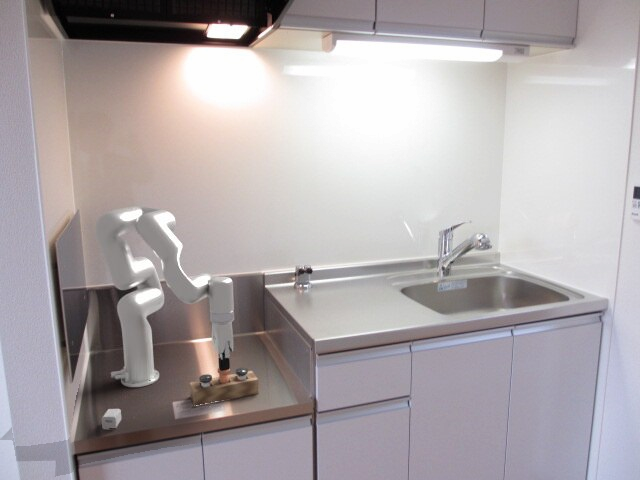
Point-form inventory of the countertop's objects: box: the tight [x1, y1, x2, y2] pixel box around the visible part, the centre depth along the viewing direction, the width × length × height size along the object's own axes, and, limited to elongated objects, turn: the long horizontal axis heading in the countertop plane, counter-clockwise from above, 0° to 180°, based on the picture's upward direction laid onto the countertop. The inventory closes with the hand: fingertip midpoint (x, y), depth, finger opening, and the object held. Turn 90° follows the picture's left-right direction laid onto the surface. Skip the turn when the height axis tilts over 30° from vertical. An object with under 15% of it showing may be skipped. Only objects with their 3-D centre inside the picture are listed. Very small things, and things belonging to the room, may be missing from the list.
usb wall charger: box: [101, 408, 122, 430], centre depth 152 cm, size 4×7×4 cm, turn 2°
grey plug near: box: [198, 374, 213, 388], centre depth 165 cm, size 4×4×7 cm
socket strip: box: [189, 370, 259, 407], centre depth 168 cm, size 21×7×5 cm, turn 115°
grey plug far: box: [235, 367, 249, 381], centre depth 170 cm, size 4×4×7 cm
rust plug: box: [217, 367, 231, 384], centre depth 167 cm, size 4×4×7 cm
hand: (224, 369), depth 167 cm, fingers closed
